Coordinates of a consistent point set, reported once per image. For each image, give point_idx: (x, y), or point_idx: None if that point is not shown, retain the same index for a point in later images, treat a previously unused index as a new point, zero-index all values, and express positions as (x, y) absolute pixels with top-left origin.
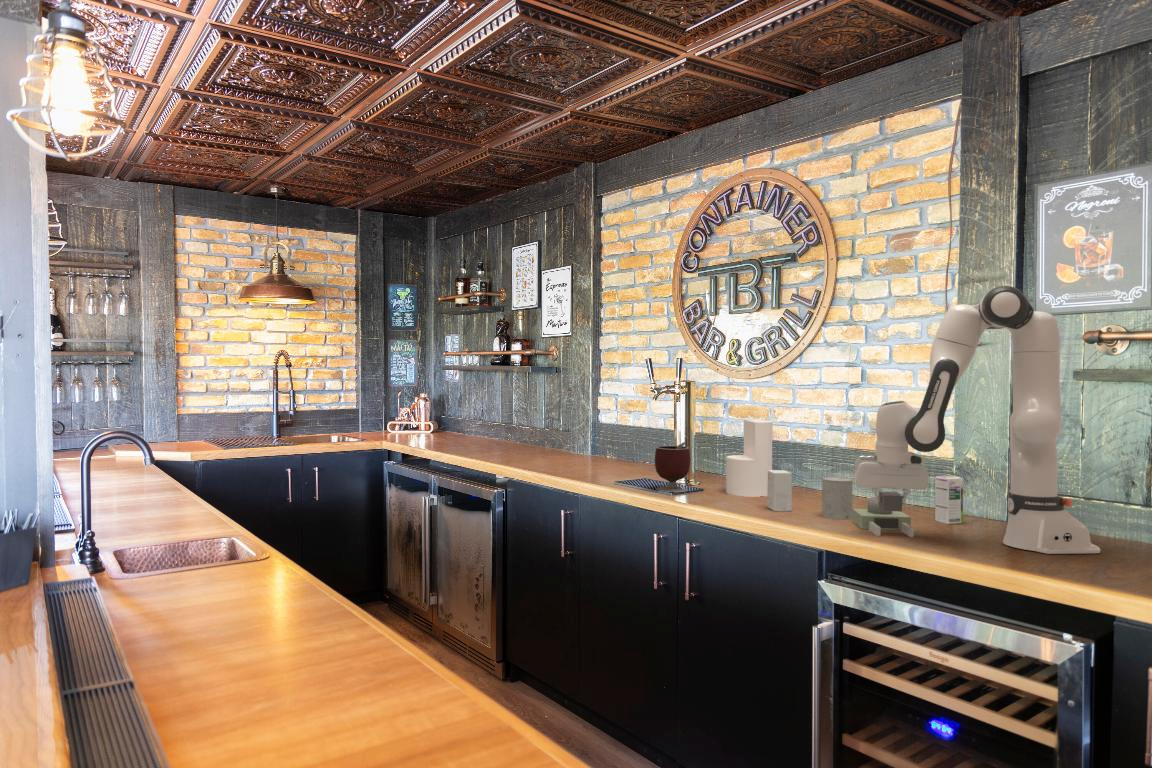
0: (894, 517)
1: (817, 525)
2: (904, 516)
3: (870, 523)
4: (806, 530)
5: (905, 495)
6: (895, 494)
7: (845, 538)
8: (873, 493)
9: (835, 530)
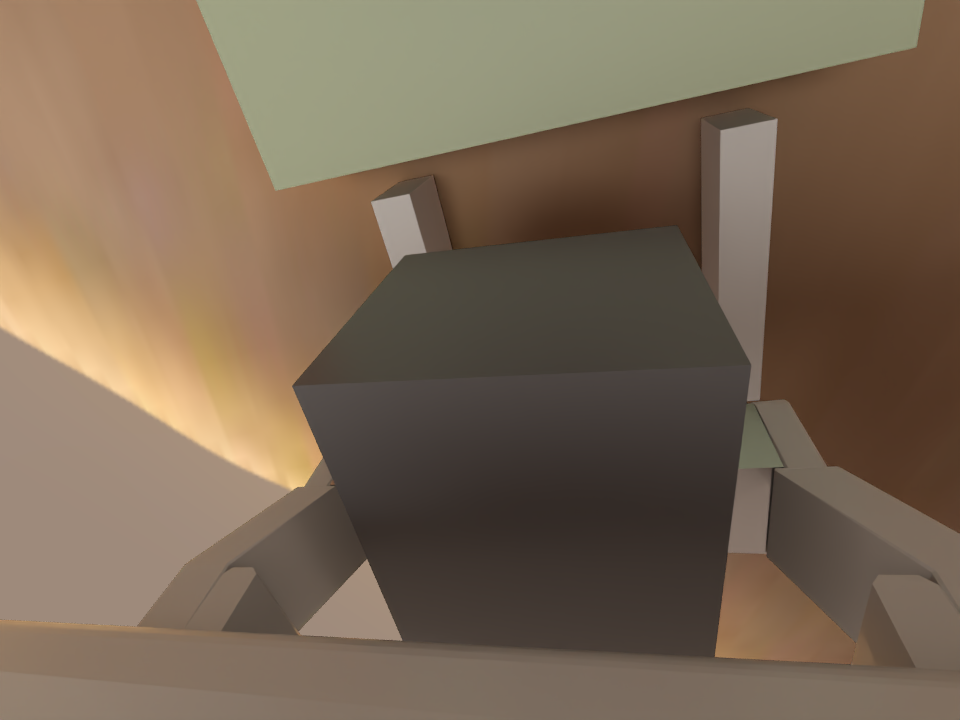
0: (651, 103)
1: (2, 116)
2: (830, 2)
3: (391, 254)
4: (51, 326)
5: (833, 613)
6: (618, 631)
7: (301, 470)
8: (253, 540)
9: (185, 274)
